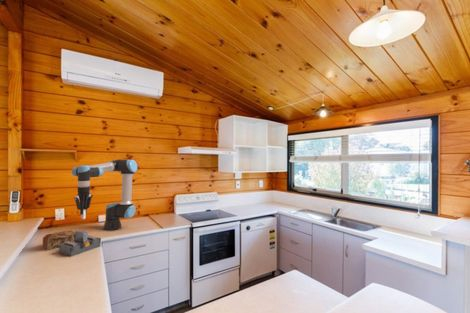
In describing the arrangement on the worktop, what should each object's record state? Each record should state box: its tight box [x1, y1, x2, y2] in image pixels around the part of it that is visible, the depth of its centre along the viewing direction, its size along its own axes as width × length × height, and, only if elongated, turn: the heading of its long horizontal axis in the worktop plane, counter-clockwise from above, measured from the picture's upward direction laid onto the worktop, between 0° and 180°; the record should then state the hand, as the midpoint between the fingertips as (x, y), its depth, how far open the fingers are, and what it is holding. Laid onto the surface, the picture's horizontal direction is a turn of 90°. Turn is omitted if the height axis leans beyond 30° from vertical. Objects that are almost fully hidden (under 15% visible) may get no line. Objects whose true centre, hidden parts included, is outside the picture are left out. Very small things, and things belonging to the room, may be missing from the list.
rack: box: [58, 235, 102, 257], centre depth 167 cm, size 21×14×7 cm, turn 157°
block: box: [74, 229, 89, 243], centre depth 168 cm, size 9×3×10 cm, turn 66°
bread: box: [42, 229, 75, 251], centre depth 175 cm, size 19×11×10 cm, turn 144°
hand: (83, 218), depth 172 cm, fingers closed
